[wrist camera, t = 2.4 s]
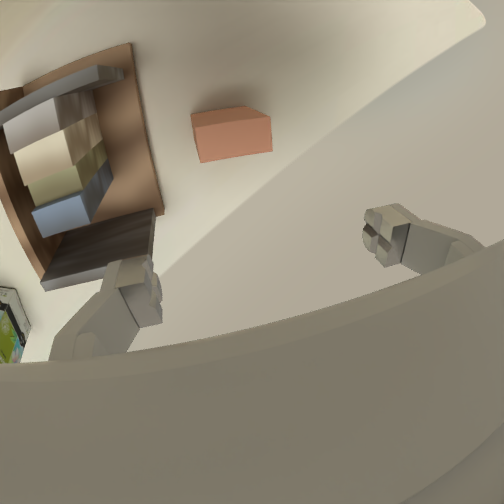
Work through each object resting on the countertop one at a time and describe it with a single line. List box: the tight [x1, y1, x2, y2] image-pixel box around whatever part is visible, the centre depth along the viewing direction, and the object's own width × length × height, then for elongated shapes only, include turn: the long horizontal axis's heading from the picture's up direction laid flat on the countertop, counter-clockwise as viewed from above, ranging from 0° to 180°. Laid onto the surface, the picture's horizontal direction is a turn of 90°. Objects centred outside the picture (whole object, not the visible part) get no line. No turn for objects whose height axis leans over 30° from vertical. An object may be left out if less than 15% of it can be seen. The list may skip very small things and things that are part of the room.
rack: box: [0, 43, 165, 292], centre depth 21 cm, size 20×14×12 cm
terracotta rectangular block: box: [191, 106, 273, 163], centre depth 24 cm, size 3×6×9 cm, turn 95°
